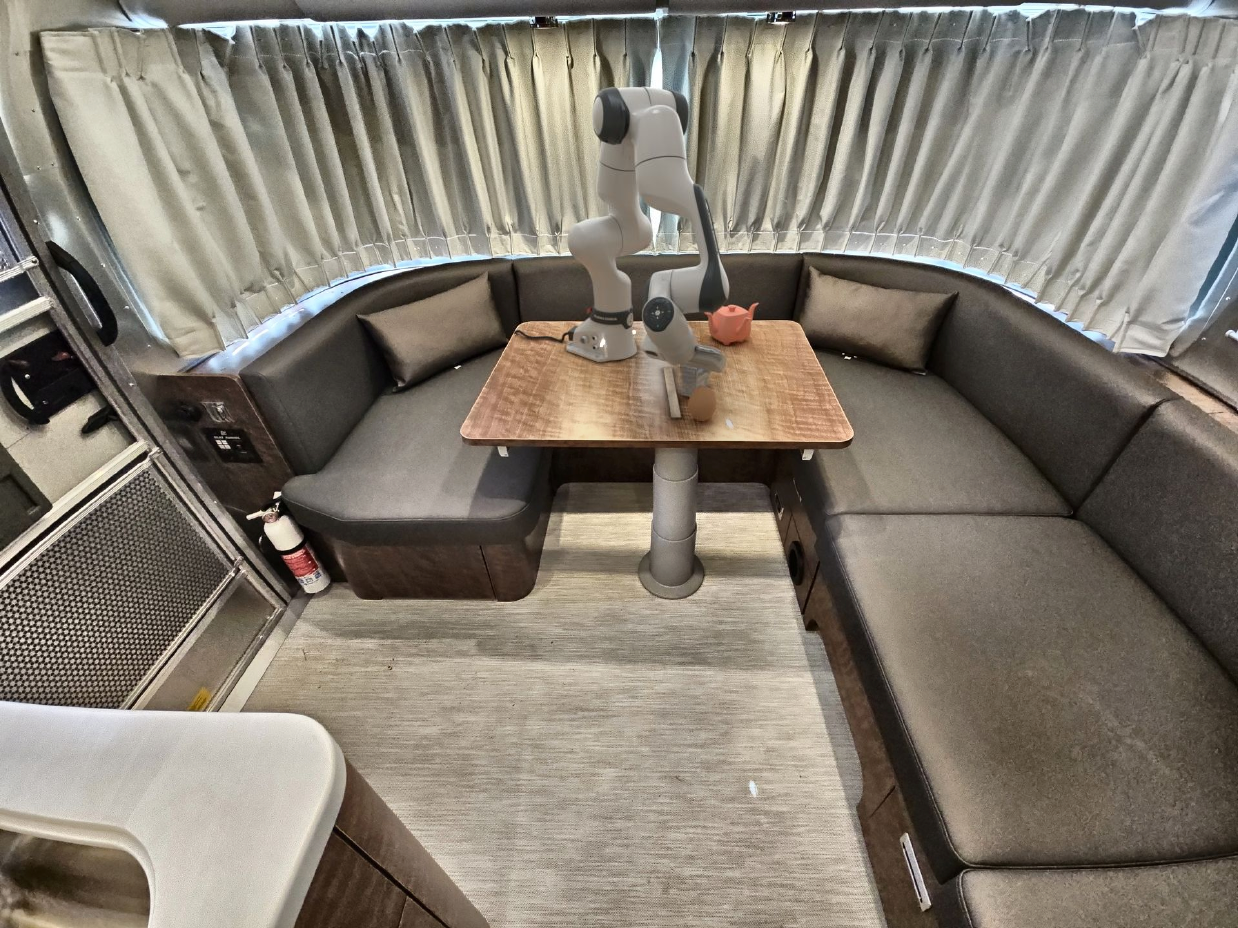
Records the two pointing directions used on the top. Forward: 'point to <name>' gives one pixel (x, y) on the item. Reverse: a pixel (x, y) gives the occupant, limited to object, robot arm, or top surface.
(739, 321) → the teapot
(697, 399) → the egg
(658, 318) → the robot arm
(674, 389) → the strip
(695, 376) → the medicine box
